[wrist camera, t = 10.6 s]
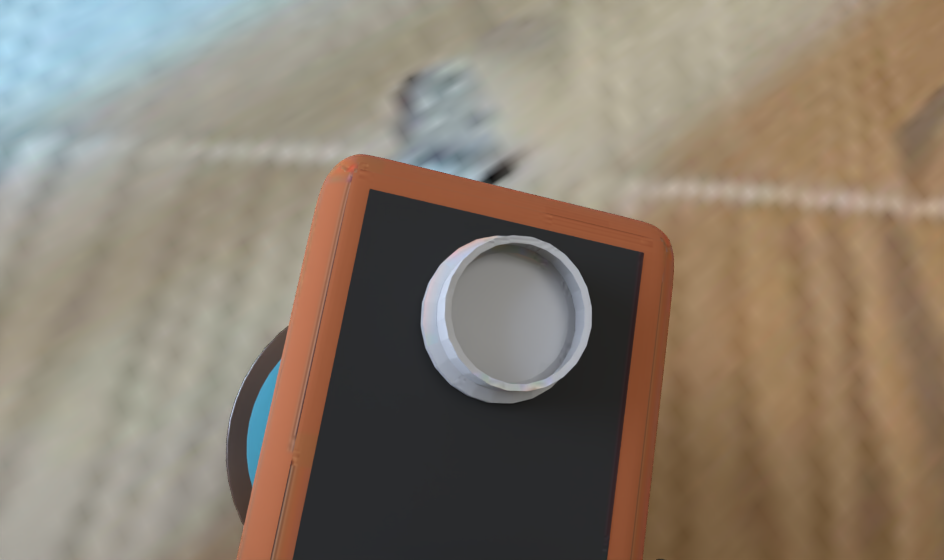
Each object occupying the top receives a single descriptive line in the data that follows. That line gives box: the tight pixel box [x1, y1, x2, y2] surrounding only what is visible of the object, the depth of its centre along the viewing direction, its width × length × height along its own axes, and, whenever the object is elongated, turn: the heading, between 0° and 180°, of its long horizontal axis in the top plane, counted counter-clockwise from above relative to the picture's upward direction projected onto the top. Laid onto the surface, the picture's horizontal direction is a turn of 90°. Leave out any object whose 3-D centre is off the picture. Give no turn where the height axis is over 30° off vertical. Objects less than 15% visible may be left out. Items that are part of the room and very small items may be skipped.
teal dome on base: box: [226, 326, 289, 525], centre depth 19 cm, size 9×9×7 cm
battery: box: [236, 154, 674, 560], centre depth 11 cm, size 4×7×10 cm, turn 170°
